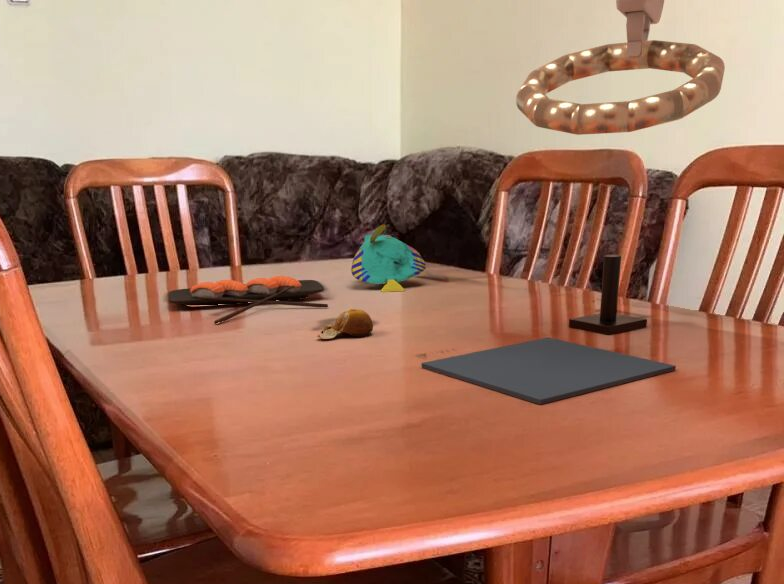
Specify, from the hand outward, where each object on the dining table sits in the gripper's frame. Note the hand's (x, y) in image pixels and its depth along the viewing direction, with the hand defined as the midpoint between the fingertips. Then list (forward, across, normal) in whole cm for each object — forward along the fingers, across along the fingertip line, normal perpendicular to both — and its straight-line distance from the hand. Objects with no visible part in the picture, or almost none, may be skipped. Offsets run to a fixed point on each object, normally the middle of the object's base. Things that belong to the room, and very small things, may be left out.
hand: (635, 58), depth 109 cm
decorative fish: (+35, +33, +49) cm, 69 cm away
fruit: (+35, -14, +39) cm, 54 cm away
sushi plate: (+35, +5, +66) cm, 75 cm away
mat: (+35, -28, +5) cm, 45 cm away
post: (+35, -1, +1) cm, 35 cm away
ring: (+4, -10, +1) cm, 11 cm away
